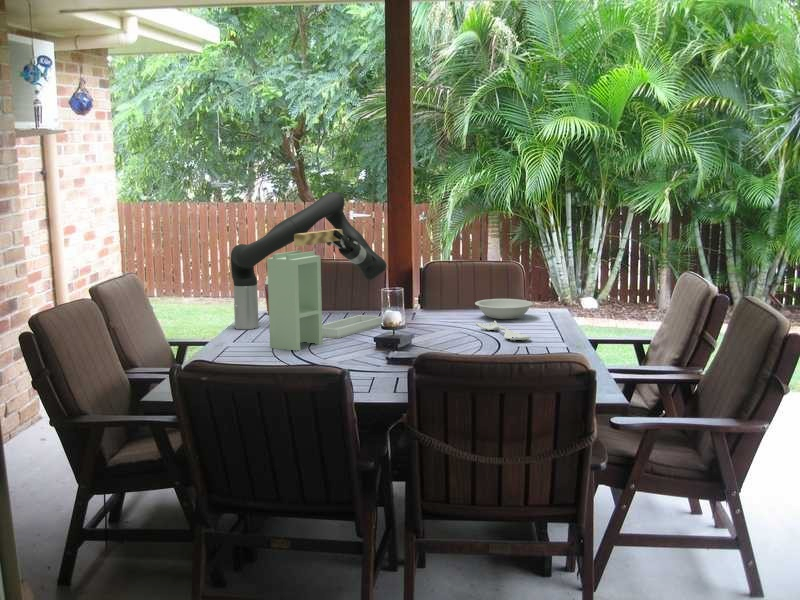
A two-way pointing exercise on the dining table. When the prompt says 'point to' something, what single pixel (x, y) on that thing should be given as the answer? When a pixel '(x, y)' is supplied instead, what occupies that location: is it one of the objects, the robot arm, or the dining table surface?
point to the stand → (294, 299)
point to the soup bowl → (504, 308)
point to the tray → (350, 326)
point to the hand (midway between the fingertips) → (329, 232)
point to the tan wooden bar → (315, 237)
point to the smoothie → (267, 294)
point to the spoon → (508, 333)
